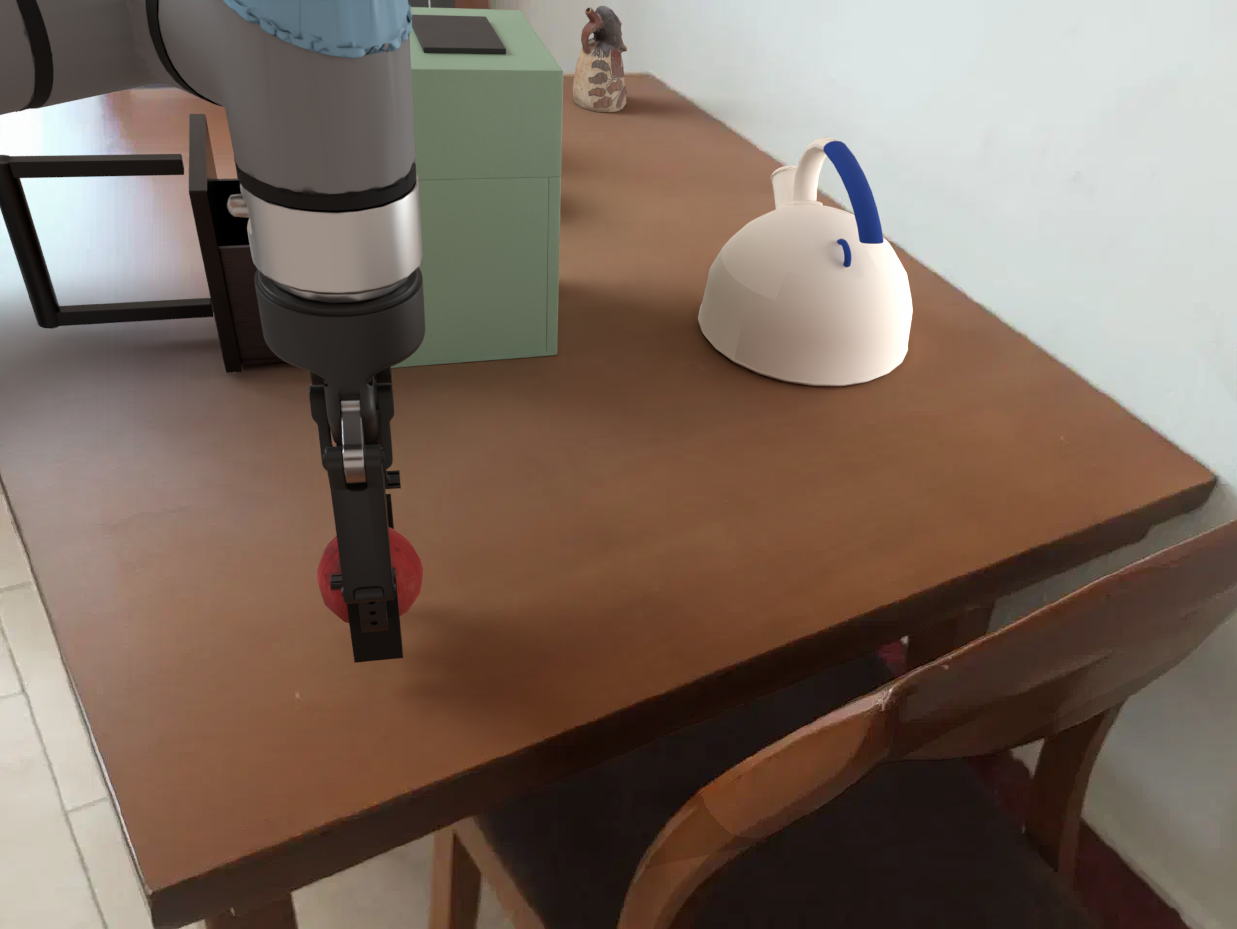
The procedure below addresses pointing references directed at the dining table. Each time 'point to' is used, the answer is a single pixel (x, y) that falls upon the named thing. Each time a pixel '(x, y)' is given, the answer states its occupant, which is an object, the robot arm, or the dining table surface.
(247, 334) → the dark brown drawer
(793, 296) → the kettle
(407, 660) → the dining table surface
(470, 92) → the sage green appliance box
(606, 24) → the figurine
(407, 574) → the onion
